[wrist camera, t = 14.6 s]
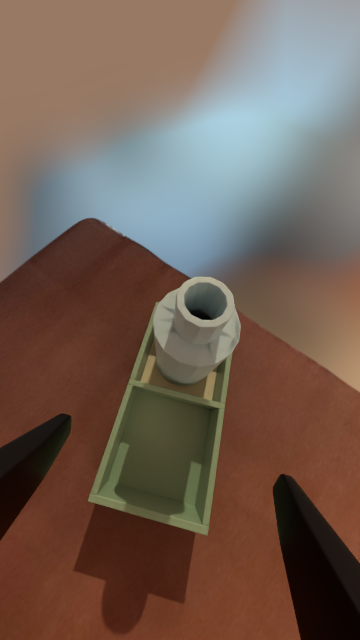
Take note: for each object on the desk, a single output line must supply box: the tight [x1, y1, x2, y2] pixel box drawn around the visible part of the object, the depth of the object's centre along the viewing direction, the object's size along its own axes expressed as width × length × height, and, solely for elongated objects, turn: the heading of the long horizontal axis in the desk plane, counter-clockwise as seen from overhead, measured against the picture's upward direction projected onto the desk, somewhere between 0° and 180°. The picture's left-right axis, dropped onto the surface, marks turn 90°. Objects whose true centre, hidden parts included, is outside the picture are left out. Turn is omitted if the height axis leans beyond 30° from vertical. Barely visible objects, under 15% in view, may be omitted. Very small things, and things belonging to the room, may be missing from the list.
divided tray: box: [88, 302, 232, 536], centre depth 20 cm, size 18×9×4 cm, turn 166°
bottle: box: [153, 277, 241, 386], centre depth 17 cm, size 6×6×13 cm
